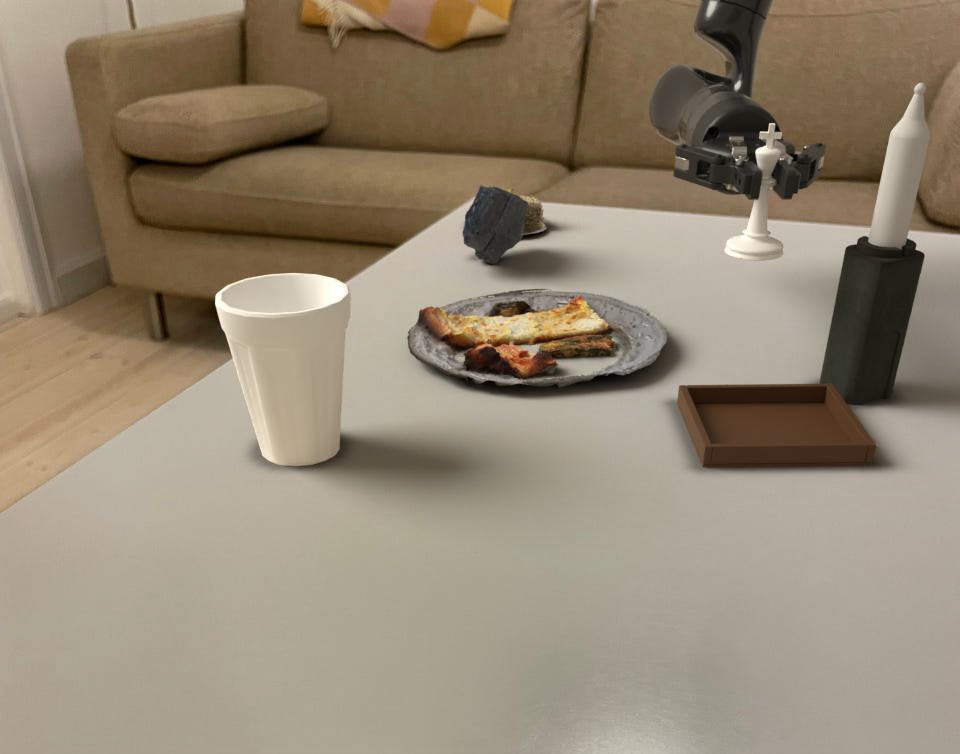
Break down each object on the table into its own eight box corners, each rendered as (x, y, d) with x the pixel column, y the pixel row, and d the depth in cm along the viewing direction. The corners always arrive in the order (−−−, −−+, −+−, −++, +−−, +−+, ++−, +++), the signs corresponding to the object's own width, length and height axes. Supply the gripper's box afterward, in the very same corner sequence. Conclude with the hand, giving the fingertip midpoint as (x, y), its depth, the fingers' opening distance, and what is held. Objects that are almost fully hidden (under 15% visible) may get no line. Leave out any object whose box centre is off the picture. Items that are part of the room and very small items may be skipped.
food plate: (428, 412, 91) (427, 373, 89) (391, 323, 109) (389, 290, 107) (698, 387, 95) (703, 349, 93) (619, 306, 113) (621, 273, 111)
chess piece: (723, 243, 91) (739, 117, 85) (780, 245, 91) (801, 118, 85) (725, 259, 87) (742, 129, 81) (785, 262, 87) (807, 130, 81)
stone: (482, 246, 132) (482, 161, 127) (529, 248, 132) (531, 163, 126) (461, 279, 121) (460, 188, 116) (512, 282, 121) (514, 190, 115)
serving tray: (827, 408, 91) (832, 383, 90) (870, 472, 81) (877, 444, 80) (676, 409, 91) (679, 384, 90) (701, 473, 81) (705, 446, 80)
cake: (457, 236, 138) (454, 192, 136) (504, 221, 145) (502, 180, 142) (515, 242, 133) (513, 197, 130) (562, 227, 139) (561, 184, 136)
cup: (228, 440, 87) (202, 281, 79) (344, 421, 90) (330, 266, 82) (253, 492, 79) (227, 323, 71) (379, 469, 82) (367, 304, 74)
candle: (849, 413, 90) (918, 90, 75) (811, 391, 94) (871, 80, 79) (895, 403, 92) (972, 85, 77) (857, 382, 96) (923, 76, 81)
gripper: (660, 97, 95) (692, 136, 81) (812, 95, 95) (870, 134, 81) (652, 184, 99) (681, 236, 85) (798, 183, 99) (850, 234, 85)
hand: (773, 186), depth 83 cm, fingers closed on chess piece
